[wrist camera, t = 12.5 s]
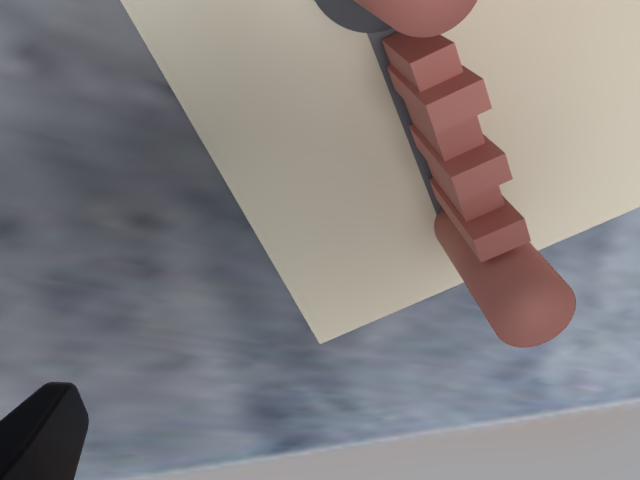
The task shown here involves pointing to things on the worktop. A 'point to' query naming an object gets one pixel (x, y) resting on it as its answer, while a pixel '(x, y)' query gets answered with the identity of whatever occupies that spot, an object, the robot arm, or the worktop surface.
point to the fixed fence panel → (470, 175)
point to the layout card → (396, 133)
